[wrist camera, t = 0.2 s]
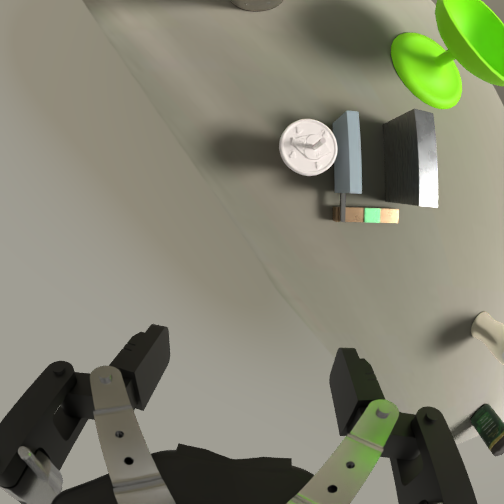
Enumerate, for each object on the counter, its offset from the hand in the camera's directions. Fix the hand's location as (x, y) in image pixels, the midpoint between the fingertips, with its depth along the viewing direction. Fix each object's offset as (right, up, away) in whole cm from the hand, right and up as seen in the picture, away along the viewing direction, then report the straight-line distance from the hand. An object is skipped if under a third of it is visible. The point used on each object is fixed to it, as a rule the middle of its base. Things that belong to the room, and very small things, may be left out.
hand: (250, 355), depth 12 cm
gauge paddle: (+12, +16, +24) cm, 31 cm away
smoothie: (+7, +18, +25) cm, 31 cm away
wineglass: (+31, +37, +20) cm, 52 cm away
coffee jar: (+70, -45, +36) cm, 90 cm away
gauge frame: (+17, +17, +24) cm, 34 cm away
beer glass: (+49, -11, +30) cm, 58 cm away
